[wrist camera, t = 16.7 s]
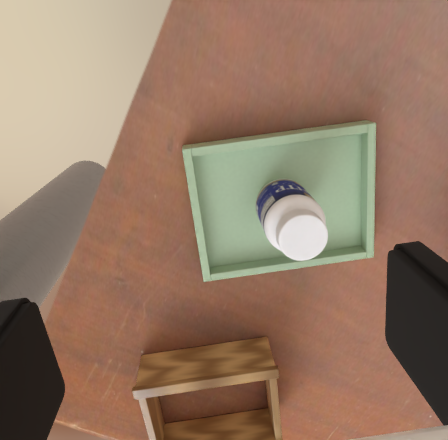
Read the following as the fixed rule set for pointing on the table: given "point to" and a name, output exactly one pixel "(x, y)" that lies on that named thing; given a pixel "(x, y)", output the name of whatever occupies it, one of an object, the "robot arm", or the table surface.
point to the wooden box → (205, 379)
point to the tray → (281, 169)
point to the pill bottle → (292, 219)
